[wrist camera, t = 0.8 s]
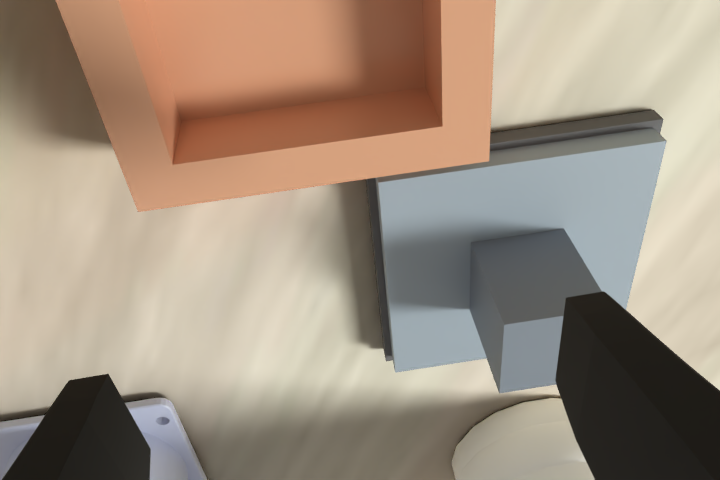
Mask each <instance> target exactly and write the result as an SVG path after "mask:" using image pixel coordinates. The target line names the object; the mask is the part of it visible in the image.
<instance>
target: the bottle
mask: <svg viewBox="0 0 720 480" xmlns="http://www.w3.org/2000/svg"><path fill="white" fill-rule="evenodd" d="M451 464H452V468H453V471H454V475H455V479H456V480H595V479H594V477H593V475H592V472H591V470H590V468H589V466H588V464H587V462H586V460H585V458H584V456H583V454H582V452H581V450H580V447H579V445H578V443H577V441H576V439H575V436H574V433H573V430H572V428H571V425H570V422H569V419H568V416H567V414H566V411H565V408H564V405H563V402H562V399H560V398H547V399H540V400H534V401H527V402H522V403H519V404H517V405H514V406H511V407H509V408H506V409H503V410H500V411H498V412H495V413H494V414H492V415H491V416H489V417H488V418H486V419H484V420H483V421H481V422H480V423H478V424H477V425H475V426H474V427H473V428H472V429H471V430H470V431H469V432H468V433H467V435H466V436H465V437H464V438H463V439H462V440H461V441H460V443H459V444H458V445H457V446H456V449H455V452H454V456H453V459H452V462H451Z"/></svg>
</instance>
